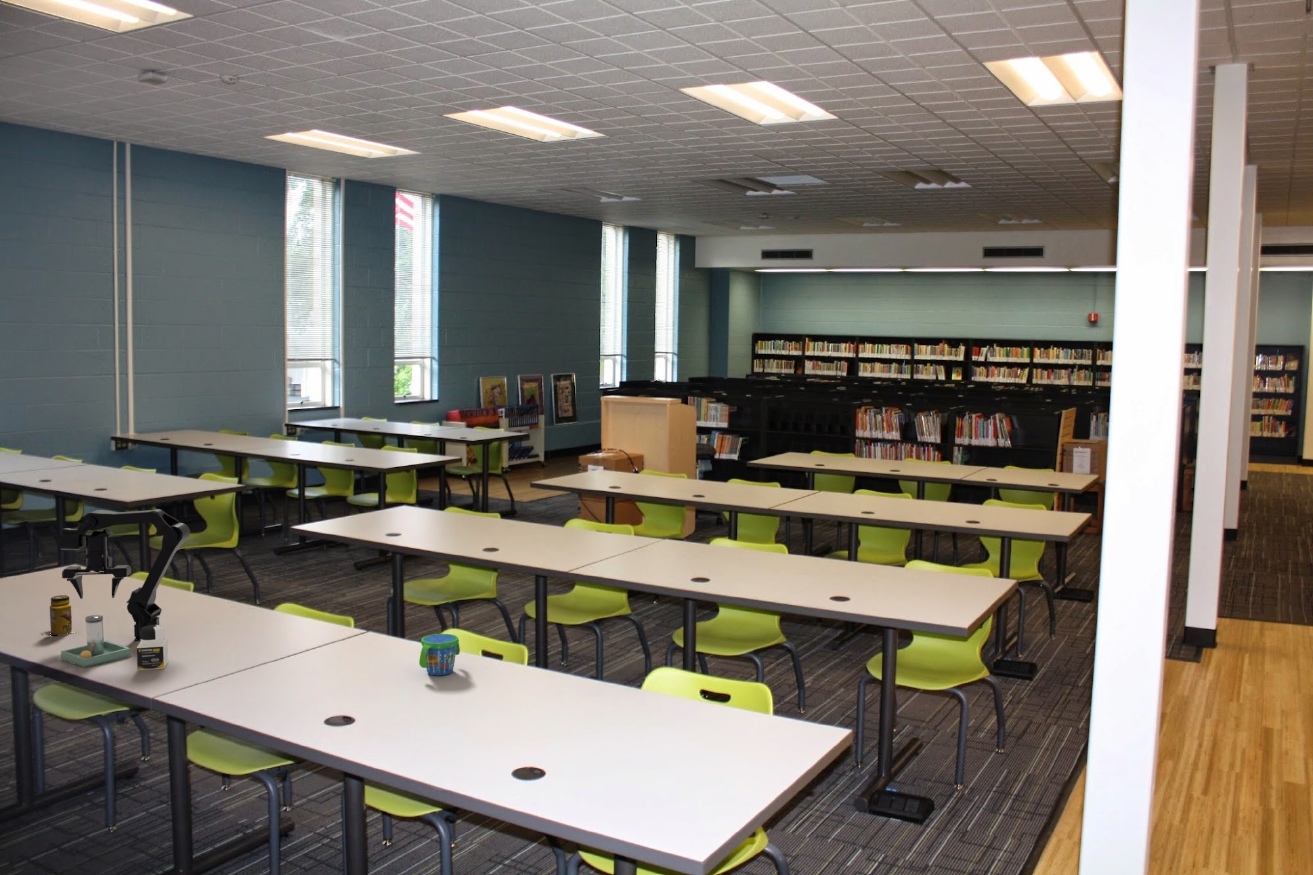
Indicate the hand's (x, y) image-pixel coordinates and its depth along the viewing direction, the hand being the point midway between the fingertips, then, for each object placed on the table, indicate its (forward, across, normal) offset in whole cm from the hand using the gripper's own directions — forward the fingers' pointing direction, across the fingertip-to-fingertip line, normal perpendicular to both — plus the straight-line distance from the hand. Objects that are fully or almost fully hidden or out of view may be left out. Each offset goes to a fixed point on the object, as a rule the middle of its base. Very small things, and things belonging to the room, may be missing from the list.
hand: (97, 598), depth 325 cm
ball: (+11, -4, +26) cm, 28 cm away
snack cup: (+12, -106, +55) cm, 120 cm away
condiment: (+14, +14, -9) cm, 22 cm away
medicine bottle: (+13, -24, +34) cm, 43 cm away
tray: (+13, -6, +22) cm, 26 cm away
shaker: (+12, -6, +22) cm, 26 cm away
